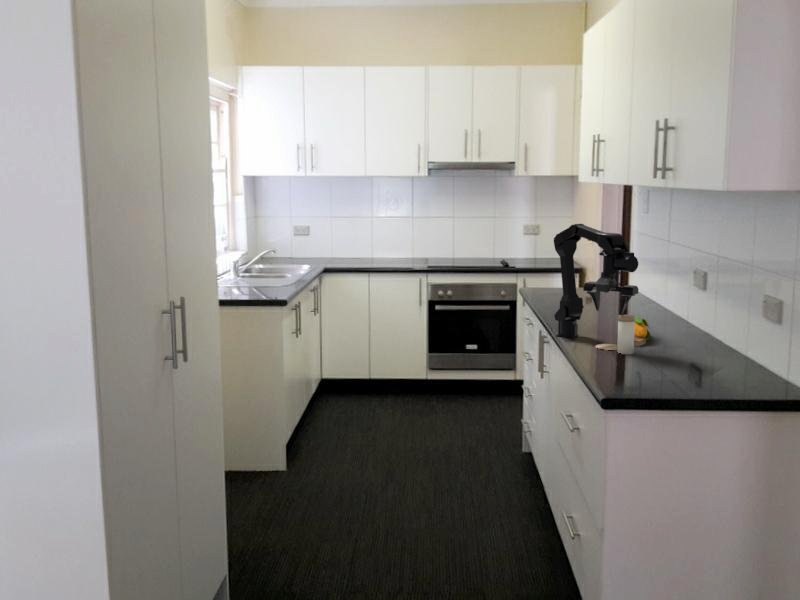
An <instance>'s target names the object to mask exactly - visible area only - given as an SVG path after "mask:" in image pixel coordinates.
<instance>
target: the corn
mask: <svg viewBox="0 0 800 600" xmlns="http://www.w3.org/2000/svg"><path fill="white" fill-rule="evenodd" d="M647 321H648V320H646V319H644V318H641V317H637V316H635V328H634V337H639V338H646V341H648V340H650V338H651V333H650V331H649V330H648V328H650V326H649V323H648V322H647Z"/></svg>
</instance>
